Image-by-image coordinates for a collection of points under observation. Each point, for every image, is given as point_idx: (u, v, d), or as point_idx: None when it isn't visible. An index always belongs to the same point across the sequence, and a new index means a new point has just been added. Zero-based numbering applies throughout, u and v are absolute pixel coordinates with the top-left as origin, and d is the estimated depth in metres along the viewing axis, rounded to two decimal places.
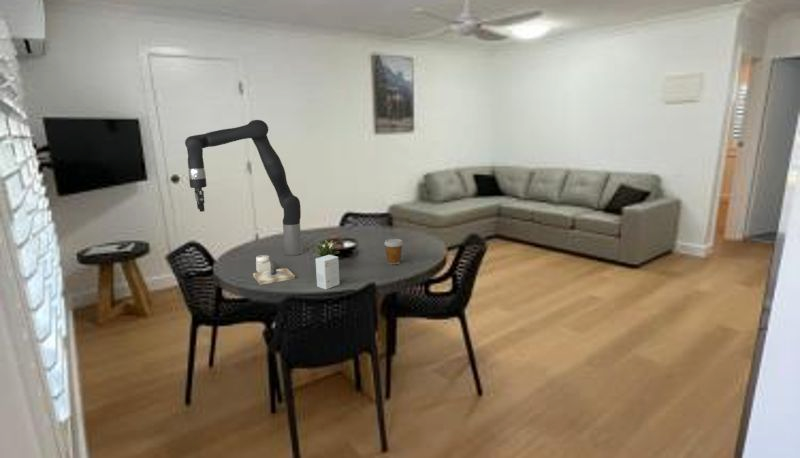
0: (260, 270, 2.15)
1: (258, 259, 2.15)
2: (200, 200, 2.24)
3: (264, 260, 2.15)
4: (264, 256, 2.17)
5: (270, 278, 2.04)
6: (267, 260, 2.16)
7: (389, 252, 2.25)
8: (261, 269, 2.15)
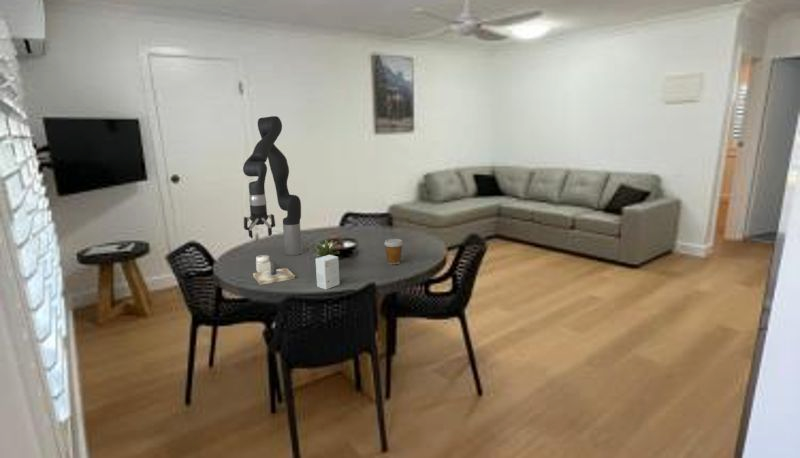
0: (260, 270, 2.15)
1: (258, 259, 2.15)
2: None
3: (264, 260, 2.15)
4: (264, 256, 2.17)
5: (270, 278, 2.04)
6: (267, 260, 2.16)
7: (389, 252, 2.25)
8: (261, 269, 2.15)
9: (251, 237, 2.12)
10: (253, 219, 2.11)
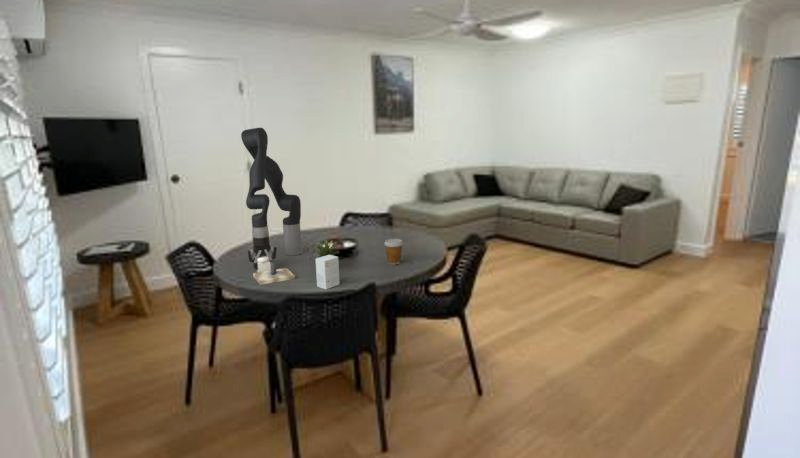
0: (260, 270, 2.15)
1: (258, 259, 2.15)
2: None
3: (264, 260, 2.15)
4: (264, 256, 2.17)
5: (270, 278, 2.04)
6: (267, 260, 2.16)
7: (389, 252, 2.25)
8: (261, 269, 2.15)
9: (256, 269, 2.16)
10: (256, 251, 2.14)
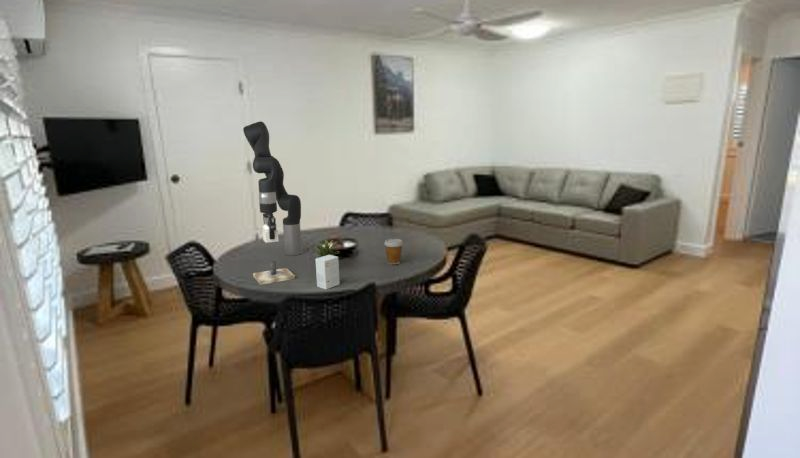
0: None
1: None
2: None
3: None
4: None
5: (270, 278, 2.04)
6: None
7: (389, 252, 2.25)
8: None
9: (274, 237, 2.03)
10: None
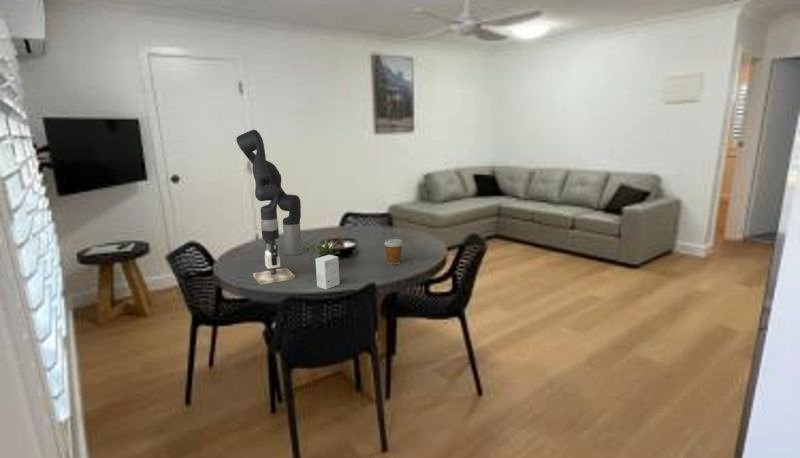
0: None
1: None
2: None
3: None
4: (271, 250, 2.08)
5: (270, 278, 2.04)
6: None
7: (389, 252, 2.25)
8: None
9: (276, 263, 2.06)
10: None
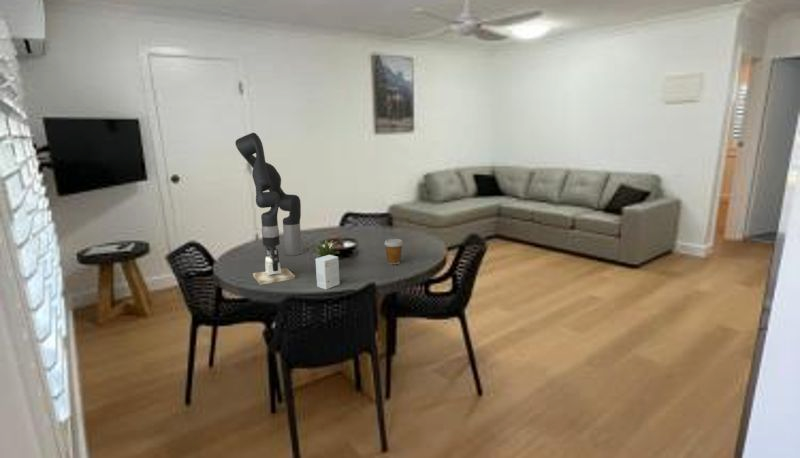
0: None
1: None
2: None
3: None
4: None
5: (270, 278, 2.04)
6: None
7: (389, 252, 2.25)
8: None
9: None
10: None
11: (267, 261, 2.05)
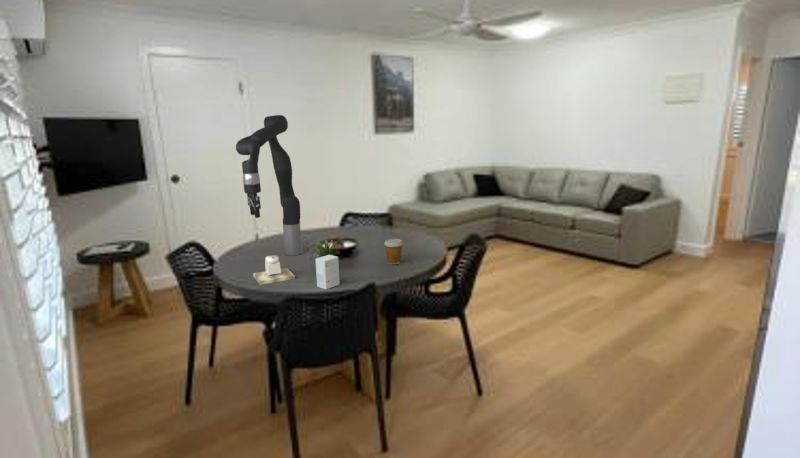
0: None
1: (277, 258, 2.06)
2: None
3: None
4: (271, 256, 2.08)
5: (270, 278, 2.04)
6: None
7: (389, 252, 2.25)
8: None
9: None
10: None
11: (267, 261, 2.05)
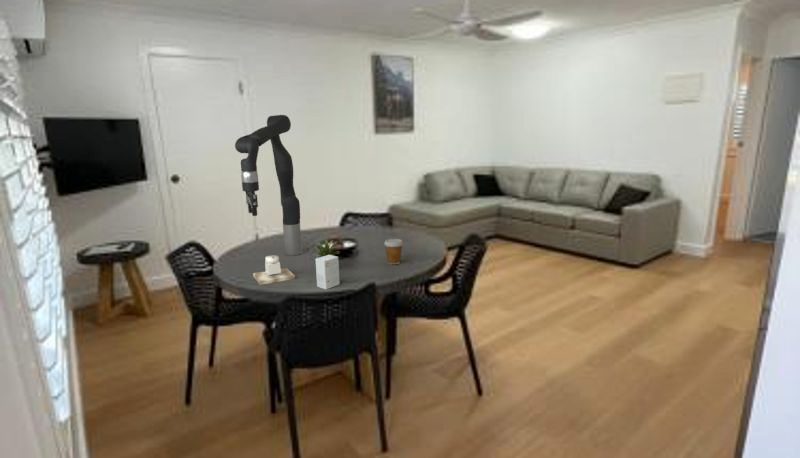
0: None
1: (277, 258, 2.06)
2: None
3: None
4: (271, 256, 2.08)
5: (270, 278, 2.04)
6: None
7: (389, 252, 2.25)
8: None
9: None
10: None
11: (267, 261, 2.05)
